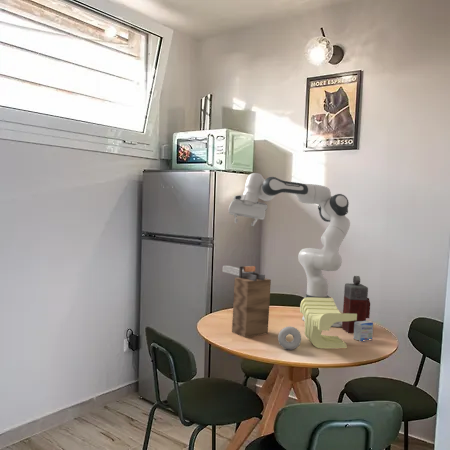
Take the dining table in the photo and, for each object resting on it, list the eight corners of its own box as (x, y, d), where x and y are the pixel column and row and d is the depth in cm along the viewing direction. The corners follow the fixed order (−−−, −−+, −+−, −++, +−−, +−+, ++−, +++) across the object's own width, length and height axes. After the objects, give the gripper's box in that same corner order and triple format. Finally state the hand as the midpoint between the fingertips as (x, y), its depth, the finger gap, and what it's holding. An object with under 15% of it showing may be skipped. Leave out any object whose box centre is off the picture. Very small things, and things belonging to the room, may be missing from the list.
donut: (300, 348, 194) (301, 326, 193) (301, 351, 190) (302, 328, 190) (276, 347, 194) (278, 324, 193) (277, 350, 190) (279, 327, 190)
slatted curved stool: (298, 333, 217) (300, 297, 216) (330, 334, 219) (332, 298, 218) (317, 354, 187) (320, 312, 186) (354, 355, 189) (357, 313, 188)
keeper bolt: (220, 271, 228) (220, 261, 228) (229, 271, 232) (230, 260, 232) (245, 278, 212) (245, 267, 212) (254, 277, 216) (255, 266, 216)
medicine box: (359, 342, 208) (361, 323, 208) (353, 339, 212) (354, 321, 212) (372, 340, 212) (373, 322, 211) (365, 337, 216) (366, 319, 215)
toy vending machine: (369, 333, 223) (373, 278, 221) (347, 333, 222) (351, 277, 220) (362, 328, 232) (366, 274, 230) (341, 328, 231) (345, 274, 229)
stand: (231, 331, 214) (235, 266, 212) (254, 328, 222) (257, 265, 220) (245, 337, 206) (248, 270, 204) (267, 333, 214) (271, 268, 212)
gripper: (268, 205, 246) (263, 229, 243) (232, 199, 251) (227, 222, 247) (267, 201, 241) (262, 225, 237) (231, 195, 245) (225, 219, 241)
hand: (244, 224), depth 242 cm, fingers open, 8 cm apart
